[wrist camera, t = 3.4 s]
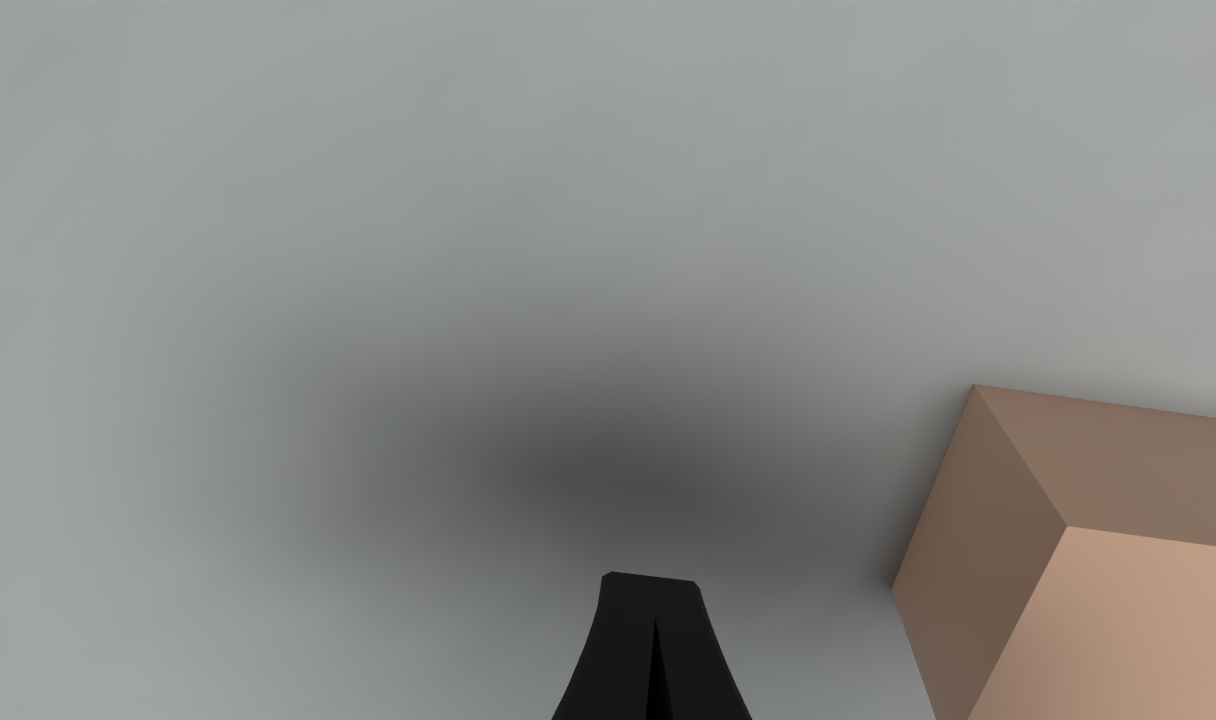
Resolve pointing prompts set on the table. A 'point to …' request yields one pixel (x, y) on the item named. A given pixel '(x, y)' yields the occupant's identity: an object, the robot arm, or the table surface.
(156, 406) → the table surface
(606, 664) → the robot arm
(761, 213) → the table surface
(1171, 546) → the block
